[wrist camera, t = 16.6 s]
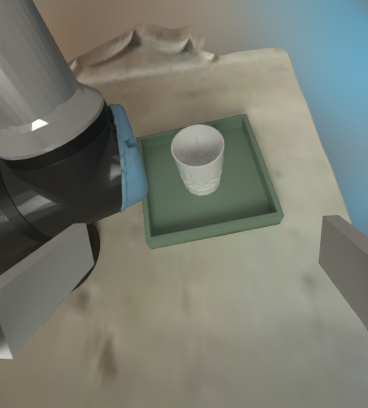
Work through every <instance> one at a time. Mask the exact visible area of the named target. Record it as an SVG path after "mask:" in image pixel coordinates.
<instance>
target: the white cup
mask: <svg viewBox="0 0 368 408" xmlns="http://www.w3.org/2000/svg"><path fill="white" fill-rule="evenodd" d="M171 152H172V155H173V158H174V161H175V163H176V166H177V169H178V171H179V174H180V176H181V178H182V180H183V182H184V185H185V187H186V189H187V190H188V191H189V192H190V193H192V194H195V195H198V196H203V195H209V194H210V193H212V192H214V191H215V190H216V189H217V188H218V186H219V185H220V180H221V174H222V168H223V157H224V139H223V136H222V135H221V133H220V132H219V131H218V130H217V129H215V128H213V127H211V126H208V125H203V124H197V125H191V126H188V127H186V128H184V129H182V130H181V131H179V132H178V133H177V134H176V135H175V137H174V138H173V140H172V143H171Z"/></svg>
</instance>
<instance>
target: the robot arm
mask: <svg viewBox="0 0 368 408" xmlns="http://www.w3.org/2000/svg"><path fill="white" fill-rule="evenodd" d="M147 193H148V181H147V177H146V173H145V170H144V167H143V163H142V160H141V157H140V154H139V151H138V148H137V145H136V143H135V139H134V136H133V133H132V129H131V126H130V123H129V121H128V118H127V115H126V113H125V110H124V108H123V107H122V105H120V104H115V105H114V104H110V105H109V106H107V104H106V102H105V100H104V98H103V96H102V94H101V93H100V92H99V91H98V90H97V89H95V88H93V87H90V86H87V85H85V84H82V83H80V82H78V81H77V80H76V78H75V76H74V74H73V72H72V71H71V69H70V67H69V65H68V63H67V62H66V60H65V59H64V56H63V55H62V53H61V51H60V49H59V47H58V46H57V44H56V42H55V40H54V38H53V37H52V35H51V33H50V31H49V29H48V28H47V26H46V24H45V22H44V20H43V19H42V17H41V15H40V13H39V12H38V10H37V8H36V6H35V4H34V2H33V1H32V0H0V358H3V359H14V357H15V356H16V355H17V354H18V353H19V352H20V350H21V349H22V348H23V347H24V346H25V345H26V343H27V342H28V341H29V340H30V339H31V338H32V336H33V335H34V334H35V333H36V332H37V331H38V329H39V328H40V327H41V326H42V325H43V324H44V322H45V321H46V320H47V319H48V318H49V317H50V316H51V314H52V313H53V312H54V311H55V310H56V309H57V307H58V306H59V305H60V304H61V303H62V302H63V300H64V299H65V298H66V297H67V296H68V295H69V293H70V292H72V291H73V290H75V289H76V288H77V287H79V286H80V285H81V284H82V283H83V282H84V281H85V280H86V279H87V277H88V276H89V275H90V273H91V272H92V270H93V268H94V266H95V264H96V262H97V259H98V255H99V249H100V242H99V236H98V233H97V230H96V228H95V227H94V225H93V224H92V223H93V222H96V221H98V220H101V219H103V218H105V217H108V216H110V215H113V214H115V213H118V212H122V211H124V210H125V208H127V207H129V206H131V205H133V204H135V203H137V202H139V201H141V200H142V199H143V198H144V197H145V196H146V195H147ZM319 264H320V265H321V267H322V268H323V269H324V271H325V272H326V274H327V275H328V276H329V278H330V279H331V280H332V282H333V283H334V284H335V286H336V287H337V288H338V290H339V291H340V293H341V294H342V295H343V297H344V298H345V299H346V301H347V302H348V303H349V305H350V306H351V308H352V309H353V310H354V312H355V313H356V314H357V316H358V317H359V318H360V320H361V321H362V323H363V324H364V325H365V327H366V328H367V329H368V237H367V236H366V235H364V234H363V233H362V232H360V231H359V230H358V229H356V228H355V227H354V226H352V225H351V224H350V223H348V222H347V221H346V220H344V219H343V218H342V217H340V216H339V215H335V216H323V220H322V231H321V242H320V254H319Z"/></svg>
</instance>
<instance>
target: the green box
mask: <svg viewBox="0 0 368 408" xmlns="http://www.w3.org/2000/svg"><path fill="white" fill-rule="evenodd" d="M202 124H203V125H208V126H211V127H213V128H215V129H217V130H218V131H219V132H220V133H221V135H222V136H223V139H224V157H223V168H222V174H221V180H220V185H219V186H218V188H217V189H216V190H215V191H214V192H212V193H210V194H209V195H203V196H198V195H195V194H192V193H190V192H189V191H188V190H187V189H186V187H185V185H184V182H183V180H182V178H181V176H180V174H179V171H178V169H177V166H176V163H175V161H174V158H173V155H172V152H171V143H172V140H173V138H174V137H175V135H176V134H177V133H178V132H179V131H181V130H182V129H184V128H186V127H184V128H180V129H175V130H171V131H166V132H162V133H157V134H153V135H148V136H144V137H139V138H136V139H137V148H138V151H139V154H140V157H141V160H142V163H143V167H144V170H145V173H146V177H147V181H148V193H147V195H146V196H145V197H144V198H143V199H142V203H143V213H144V224H145V235H146V243H147V244H148V245H149V247H150V248H151V249H155V248H160V247H165V246H171V245H176V244H181V243H186V242H191V241H196V240H201V239H206V238H211V237H216V236H221V235H226V234H231V233H236V232H241V231H246V230H252V229H257V228H262V227H267V226H272V225H277V224H280V222H281V220H282V219H283V217H284V214H283V211H282V209H281V206H280V203H279V201H278V198H277V195H276V193H275V190H274V187H273V184H272V182H271V179H270V176H269V174H268V171H267V168H266V166H265V163H264V160H263V158H262V155H261V152H260V150H259V147H258V144H257V142H256V139H255V136H254V134H253V131H252V128H251V126H250V123H249V120H248V117H247V115H246V114H242V115H238V116H233V117H229V118H225V119H220V120H216V121H211V122H207V123H202Z"/></svg>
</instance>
